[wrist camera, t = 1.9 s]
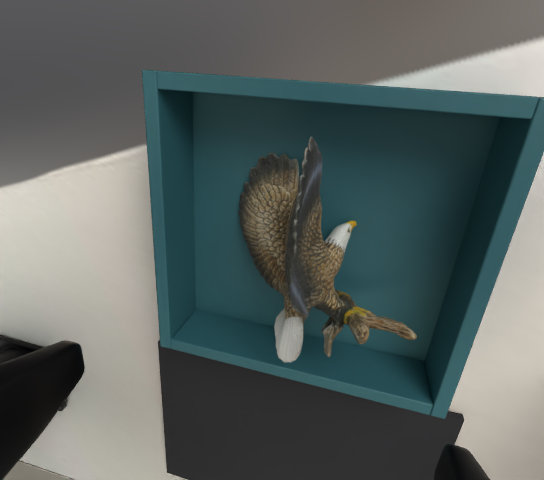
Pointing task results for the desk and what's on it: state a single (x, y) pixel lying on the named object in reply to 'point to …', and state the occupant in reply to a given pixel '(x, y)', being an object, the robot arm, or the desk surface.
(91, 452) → the desk surface
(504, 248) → the tray
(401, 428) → the drying mat
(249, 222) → the eagle figurine
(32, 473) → the grey flat slab
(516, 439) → the desk surface
